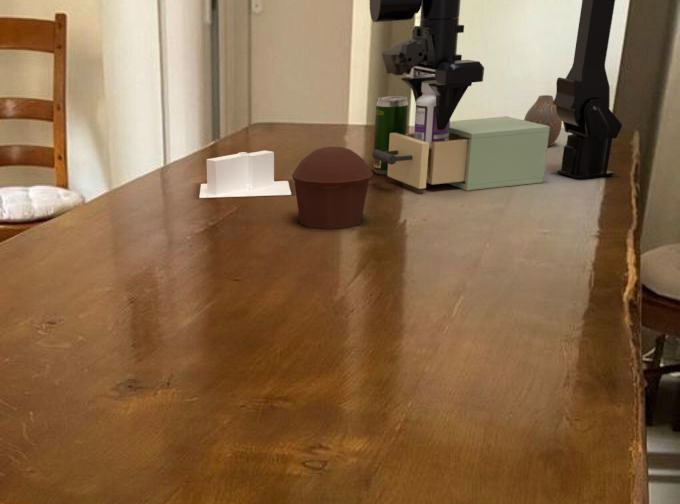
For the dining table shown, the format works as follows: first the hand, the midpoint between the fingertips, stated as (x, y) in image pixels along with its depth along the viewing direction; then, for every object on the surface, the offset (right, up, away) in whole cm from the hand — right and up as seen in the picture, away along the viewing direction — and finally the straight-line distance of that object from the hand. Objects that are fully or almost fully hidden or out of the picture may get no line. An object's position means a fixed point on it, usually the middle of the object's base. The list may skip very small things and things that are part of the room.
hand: (432, 127), depth 159 cm
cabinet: (+10, -6, +7) cm, 14 cm away
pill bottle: (0, -3, +2) cm, 3 cm away
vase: (+28, +8, +32) cm, 43 cm away
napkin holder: (-29, -8, +8) cm, 31 cm away
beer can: (-4, -2, +15) cm, 16 cm away
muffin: (-18, -19, -14) cm, 30 cm away
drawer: (0, -7, +4) cm, 8 cm away
